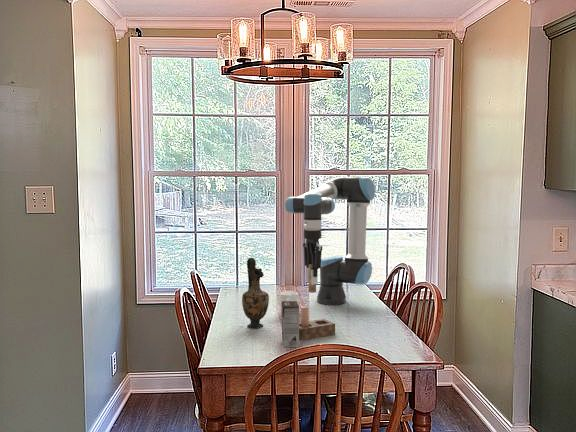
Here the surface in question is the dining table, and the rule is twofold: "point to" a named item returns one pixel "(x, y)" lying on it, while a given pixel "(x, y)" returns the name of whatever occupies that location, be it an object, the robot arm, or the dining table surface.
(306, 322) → the terracotta peg
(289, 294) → the mug
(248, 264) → the vase
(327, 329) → the hole block
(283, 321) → the coffee box
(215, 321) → the dining table surface
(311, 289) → the oak peg
